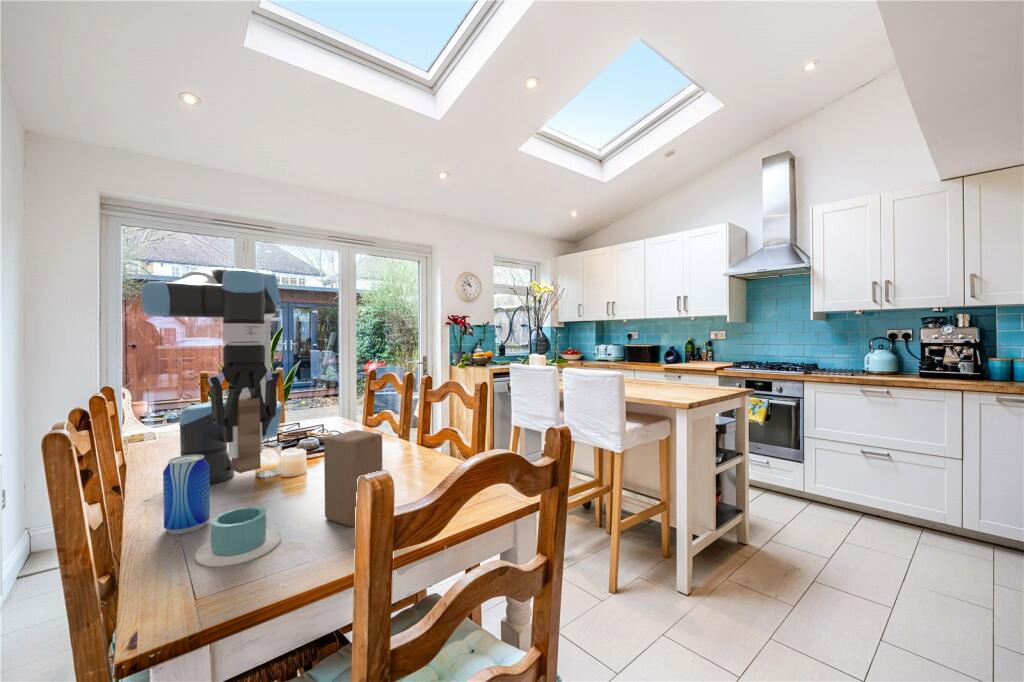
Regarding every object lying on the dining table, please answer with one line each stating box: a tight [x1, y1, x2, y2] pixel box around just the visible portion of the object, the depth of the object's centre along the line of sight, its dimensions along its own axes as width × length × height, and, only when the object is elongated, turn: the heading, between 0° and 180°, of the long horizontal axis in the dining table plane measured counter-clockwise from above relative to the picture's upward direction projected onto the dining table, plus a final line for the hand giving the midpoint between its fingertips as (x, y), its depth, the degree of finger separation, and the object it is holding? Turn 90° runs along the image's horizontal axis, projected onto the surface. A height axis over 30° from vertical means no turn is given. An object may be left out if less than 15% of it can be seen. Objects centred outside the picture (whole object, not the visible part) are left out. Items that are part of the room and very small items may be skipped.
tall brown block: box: [230, 397, 262, 474], centre depth 90 cm, size 4×4×15 cm
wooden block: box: [323, 429, 383, 528], centre depth 104 cm, size 10×10×20 cm
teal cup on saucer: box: [194, 506, 281, 568], centre depth 89 cm, size 15×15×7 cm
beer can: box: [162, 455, 211, 535], centre depth 98 cm, size 8×8×16 cm
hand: (245, 454), depth 90 cm, fingers closed on tall brown block, 4 cm apart
